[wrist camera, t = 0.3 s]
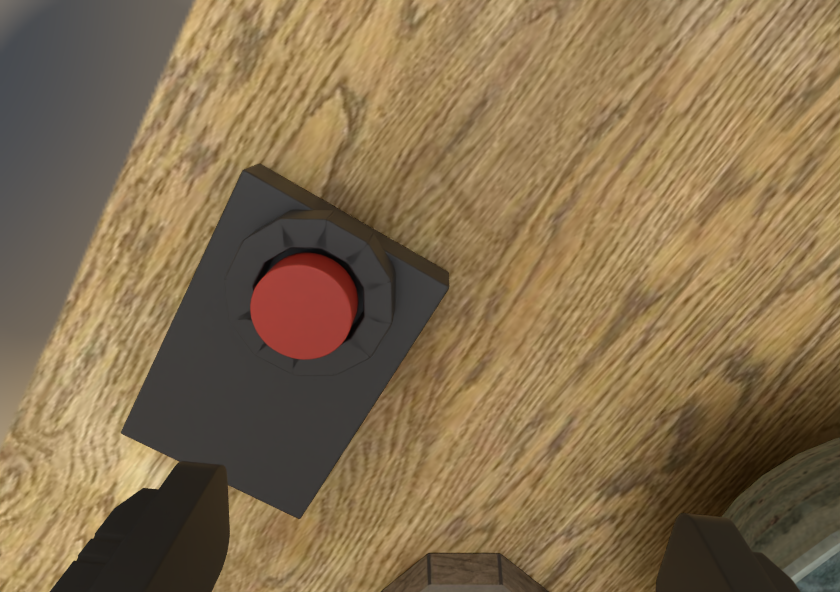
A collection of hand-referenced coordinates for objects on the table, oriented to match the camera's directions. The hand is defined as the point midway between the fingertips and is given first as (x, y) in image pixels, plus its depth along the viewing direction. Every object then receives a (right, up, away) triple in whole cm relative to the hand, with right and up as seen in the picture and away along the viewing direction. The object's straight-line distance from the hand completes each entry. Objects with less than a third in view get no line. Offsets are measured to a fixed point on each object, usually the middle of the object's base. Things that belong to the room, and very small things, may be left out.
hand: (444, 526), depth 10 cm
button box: (-7, +2, +18) cm, 20 cm away
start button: (-5, +4, +14) cm, 15 cm away
